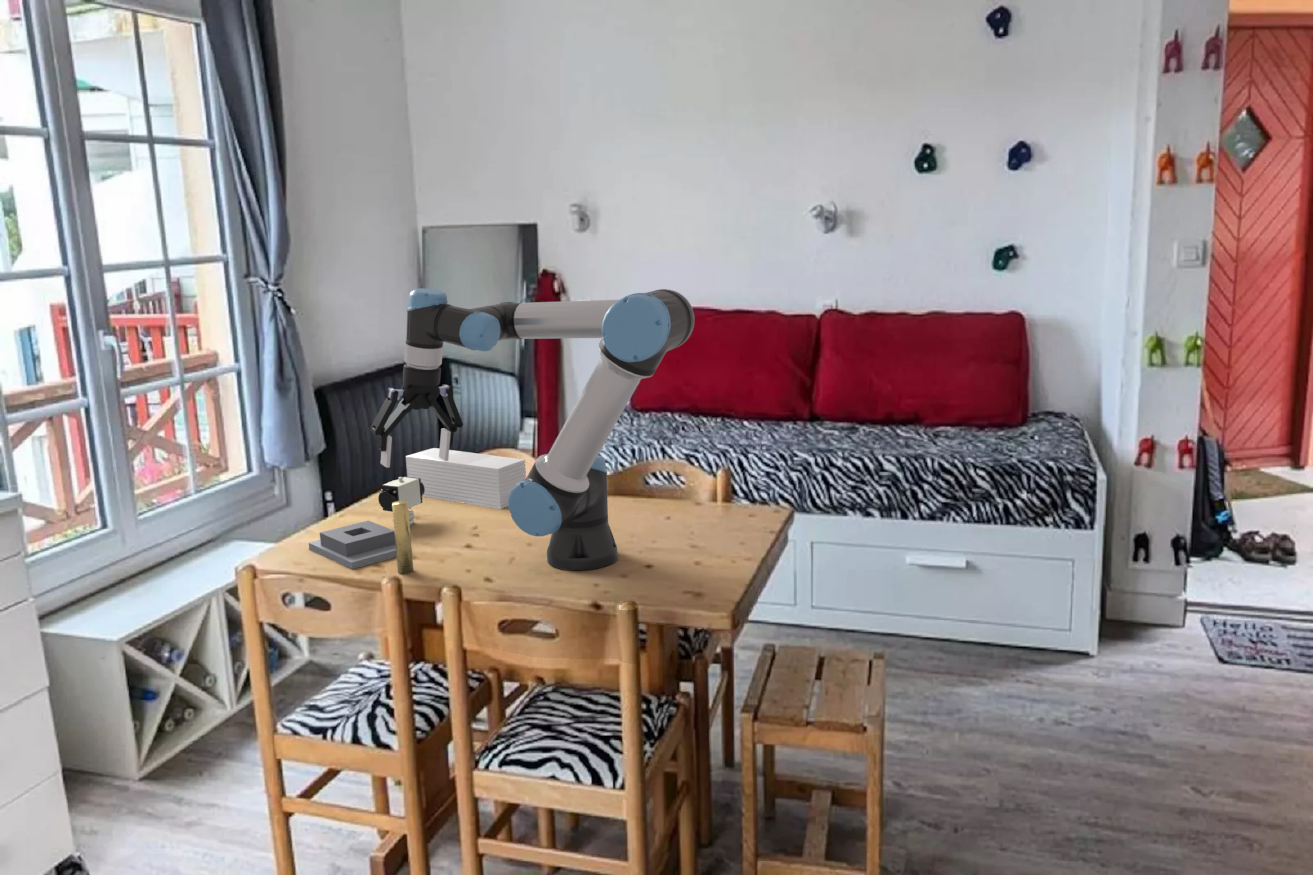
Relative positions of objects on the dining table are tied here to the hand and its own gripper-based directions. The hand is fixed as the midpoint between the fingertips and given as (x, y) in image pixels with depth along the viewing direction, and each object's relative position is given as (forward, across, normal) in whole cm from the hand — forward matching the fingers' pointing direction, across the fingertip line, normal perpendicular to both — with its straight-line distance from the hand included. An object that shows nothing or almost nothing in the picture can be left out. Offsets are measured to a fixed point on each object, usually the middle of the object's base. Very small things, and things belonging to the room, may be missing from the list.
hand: (414, 462), depth 218 cm
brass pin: (+22, +4, +7) cm, 23 cm away
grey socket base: (+25, +5, -13) cm, 29 cm away
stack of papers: (+26, -36, -35) cm, 57 cm away
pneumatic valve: (+26, -12, -24) cm, 37 cm away
